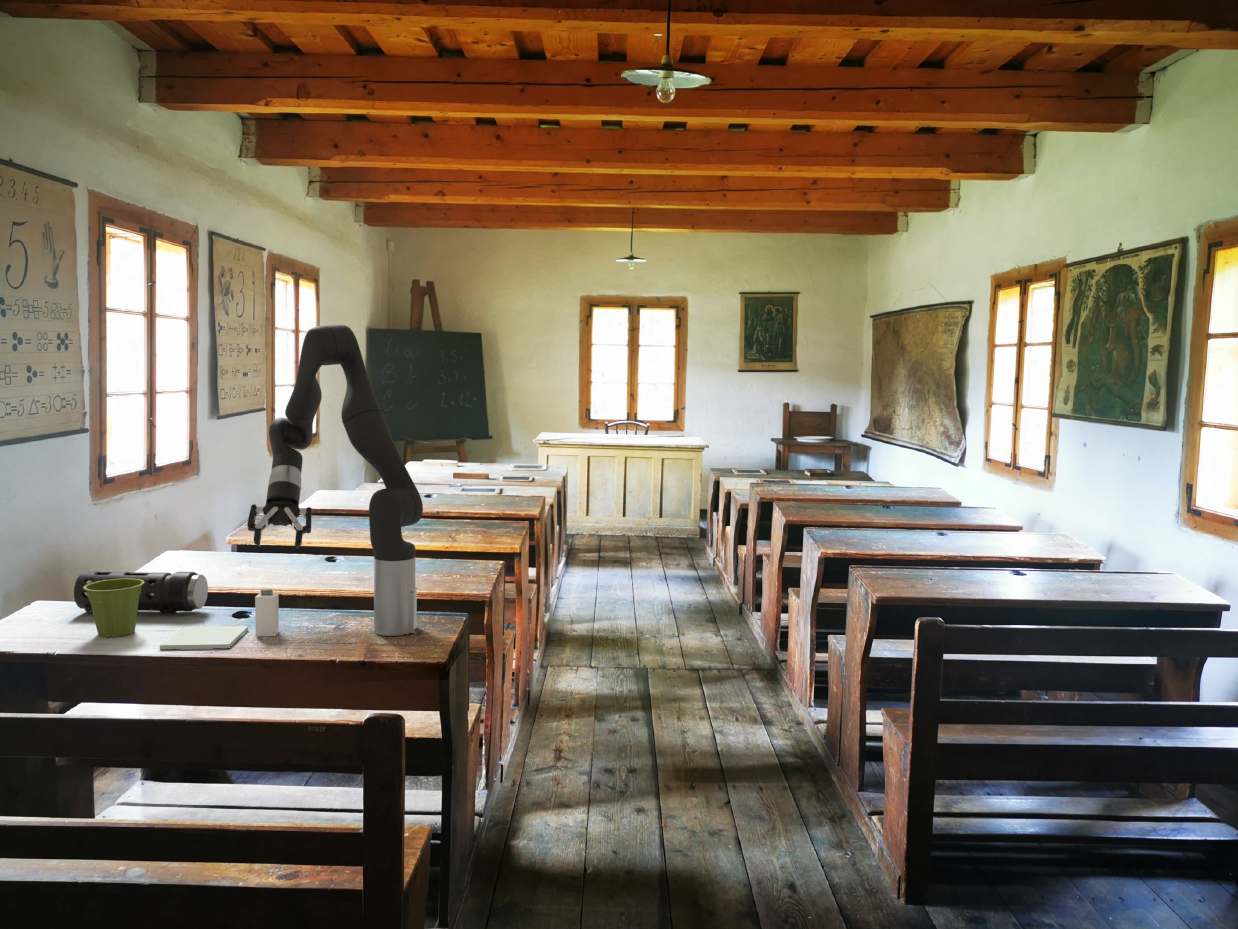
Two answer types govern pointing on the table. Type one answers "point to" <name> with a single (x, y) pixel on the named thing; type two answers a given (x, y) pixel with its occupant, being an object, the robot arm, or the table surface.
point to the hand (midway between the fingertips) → (277, 546)
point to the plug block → (266, 613)
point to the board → (204, 637)
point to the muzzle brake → (153, 590)
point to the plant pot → (114, 605)
